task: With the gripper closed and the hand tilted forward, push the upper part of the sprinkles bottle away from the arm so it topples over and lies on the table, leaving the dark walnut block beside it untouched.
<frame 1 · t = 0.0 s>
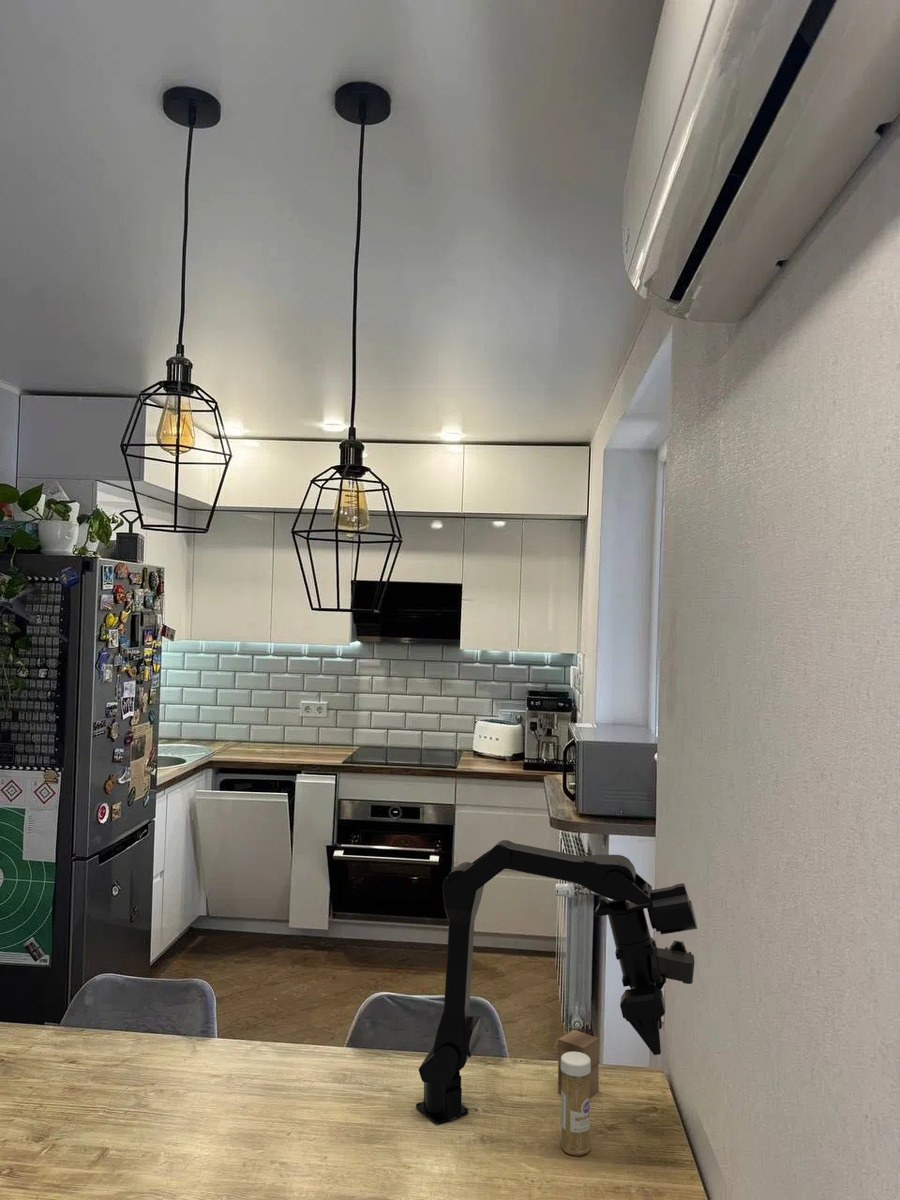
hand: (658, 1041, 131), 15 cm above the table, tool pointing down, fingers open, 9 cm apart
walnut block: (578, 1092, 145), on the table
sprinkles bottle: (575, 1149, 129), on the table
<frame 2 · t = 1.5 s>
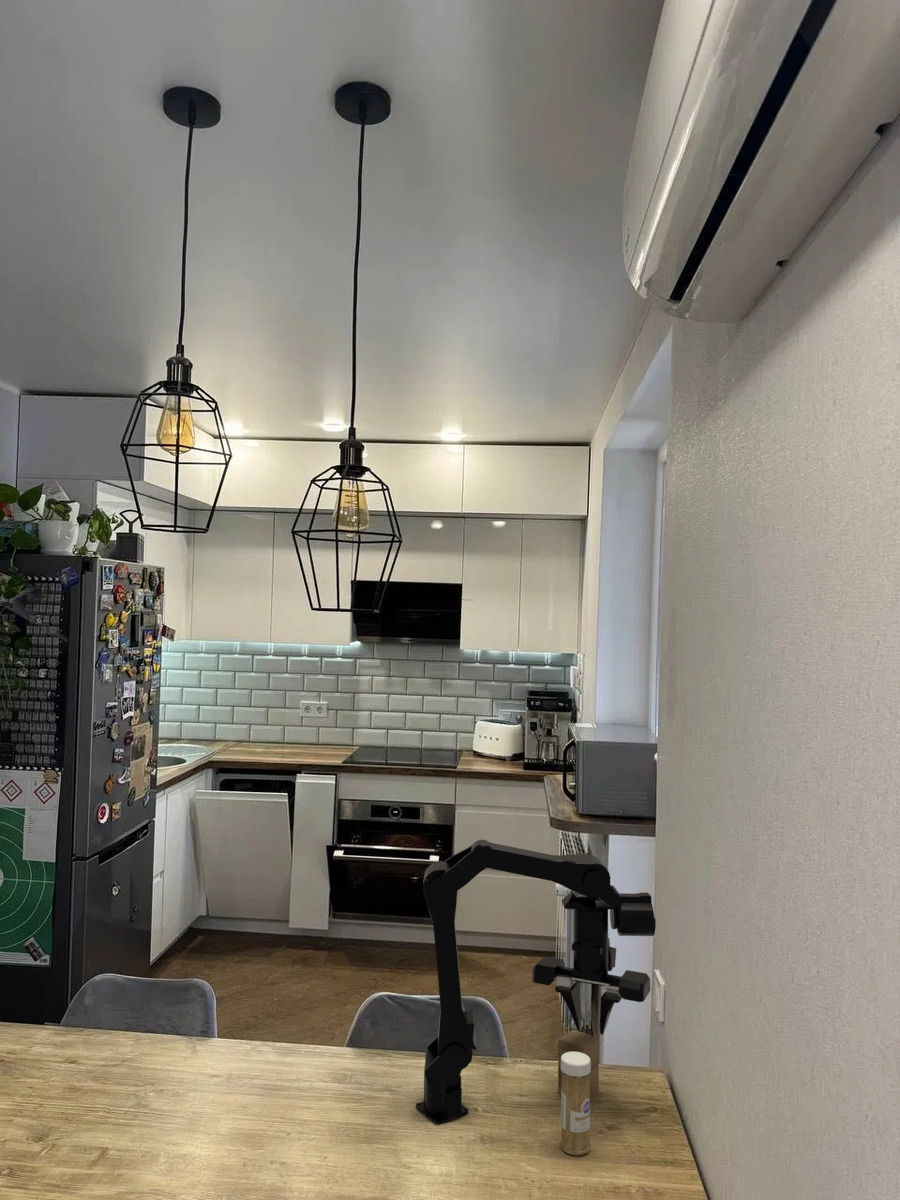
hand: (590, 1031, 140), 13 cm above the table, tool pointing down, fingers open, 4 cm apart
nothing on the table moved.
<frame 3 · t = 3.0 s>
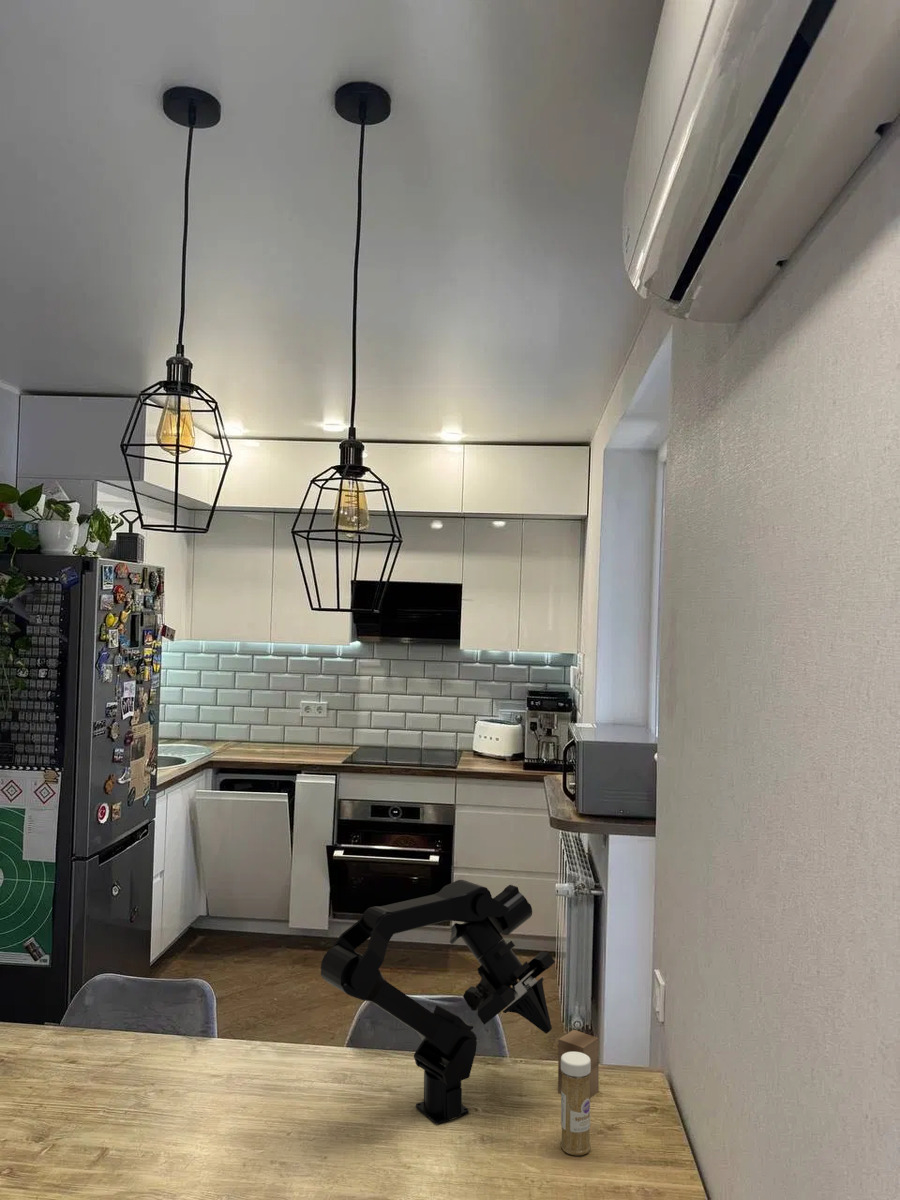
hand: (549, 1031, 139), 13 cm above the table, tool tilted 45°, fingers closed
nothing on the table moved.
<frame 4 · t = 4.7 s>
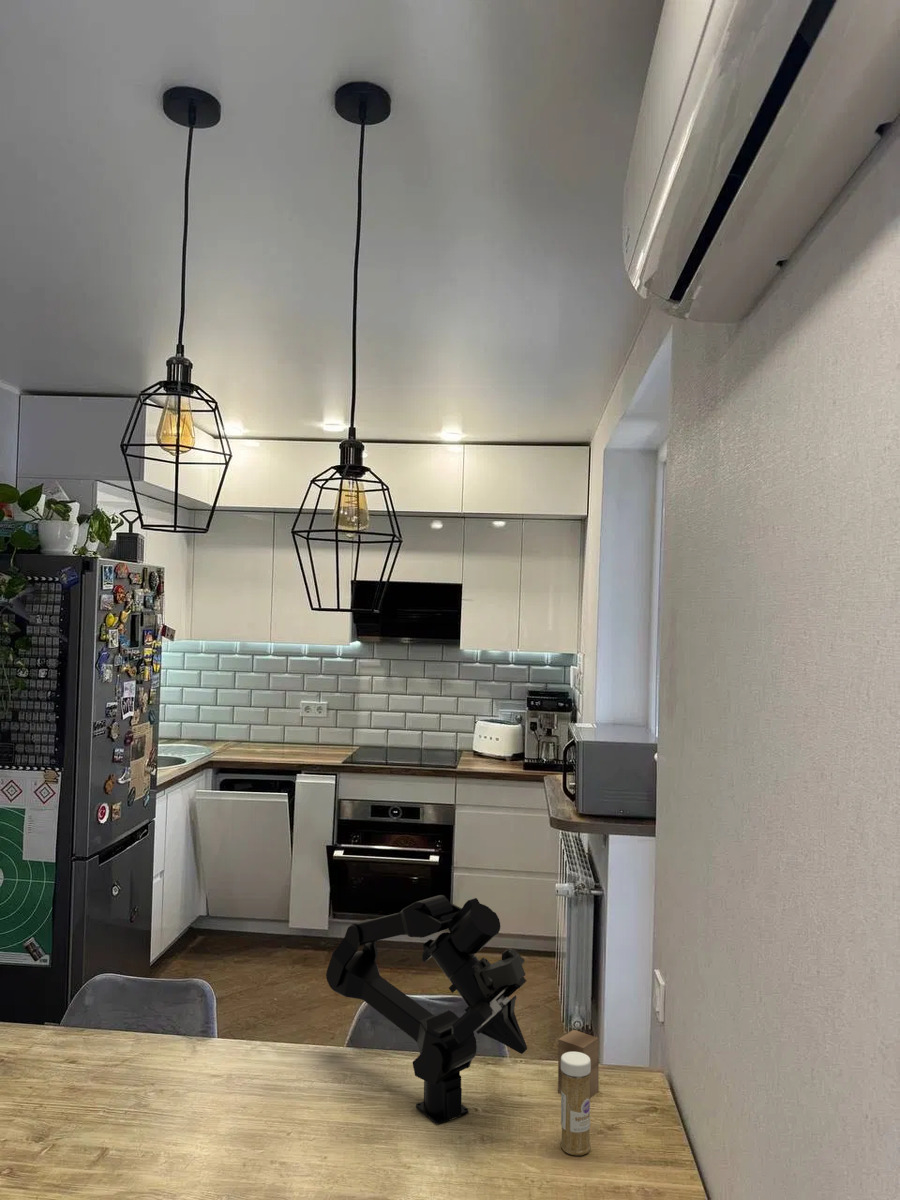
hand: (524, 1051, 133), 13 cm above the table, tool tilted 45°, fingers closed
nothing on the table moved.
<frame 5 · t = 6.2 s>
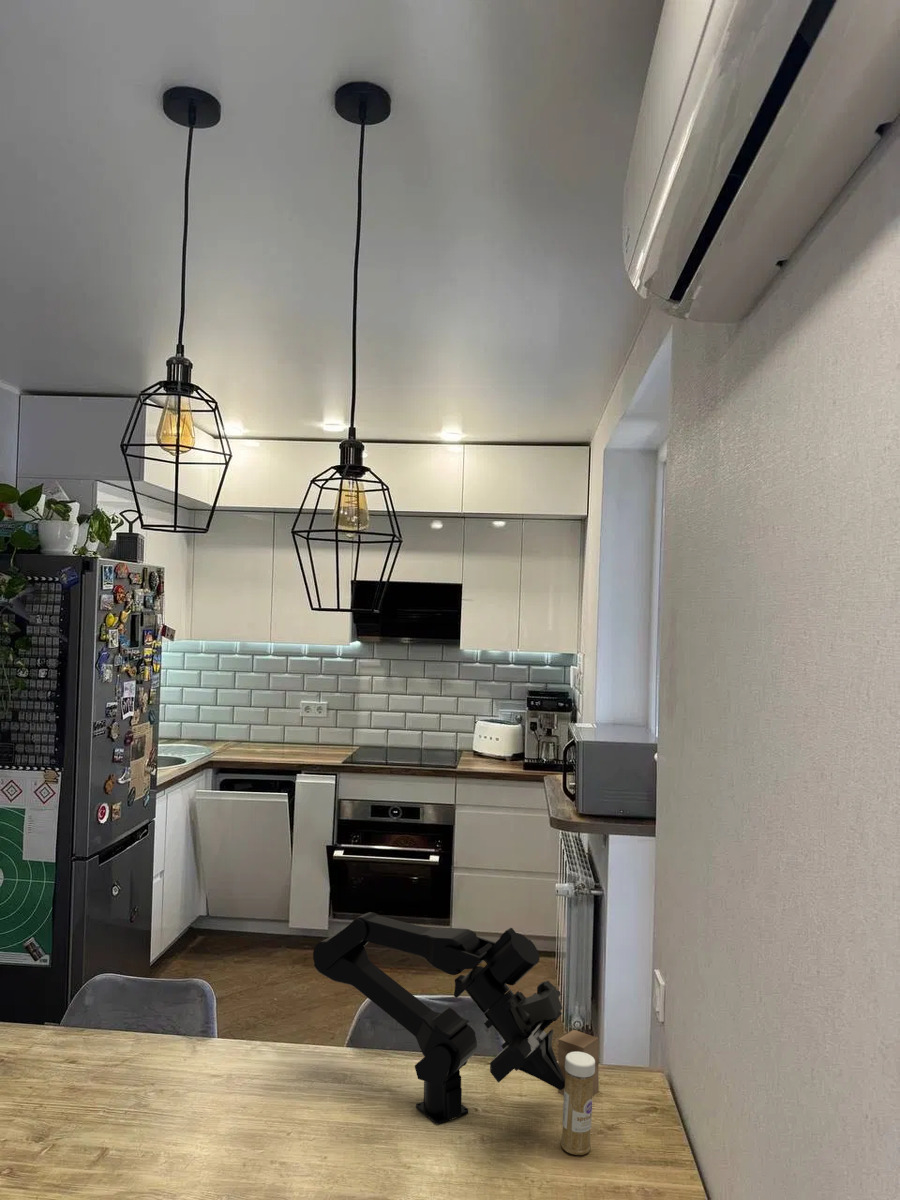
hand: (564, 1087, 130), 8 cm above the table, tool tilted 45°, fingers closed, pressing on sprinkles bottle
sprinkles bottle: (575, 1148, 129), on the table, touching gripper
everything else where it was.
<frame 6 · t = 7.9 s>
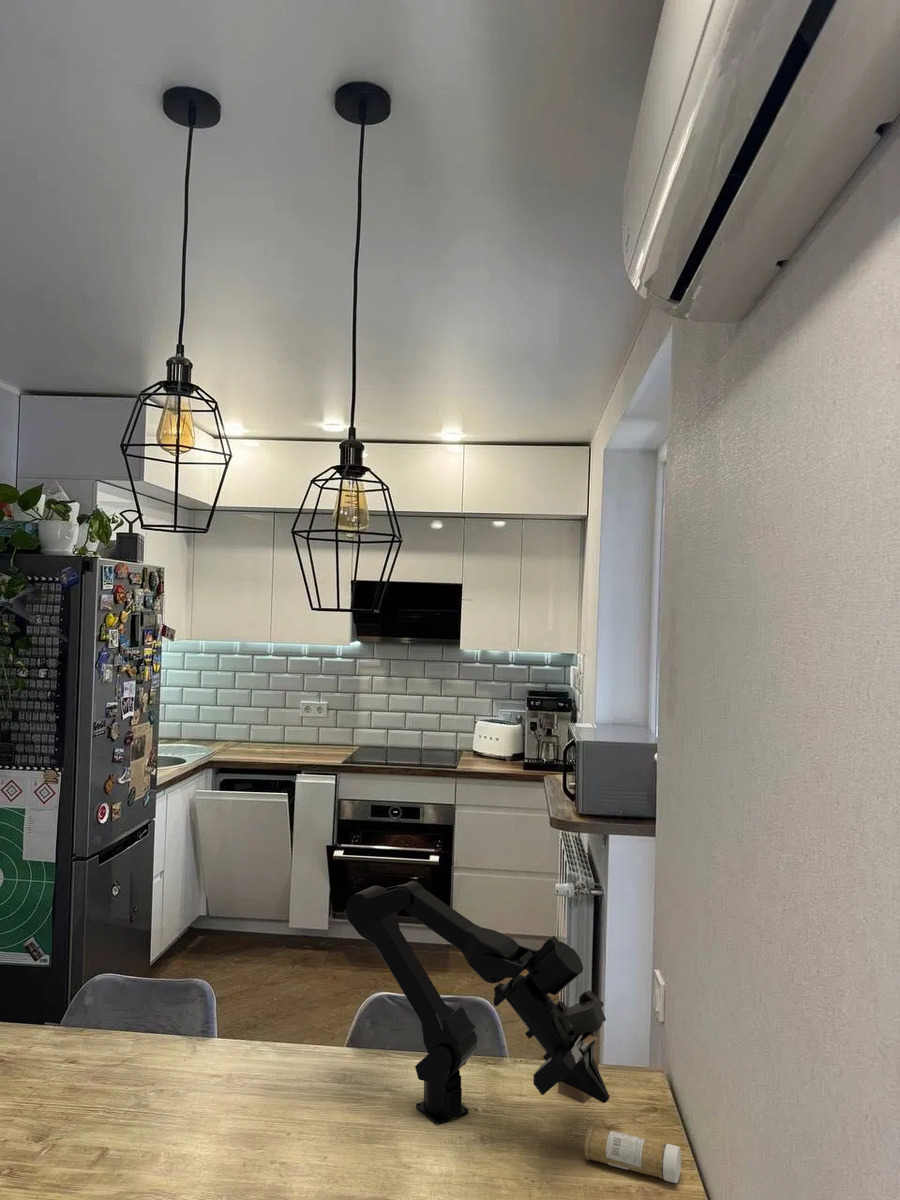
hand: (607, 1100, 127), 8 cm above the table, tool tilted 45°, fingers closed
sprinkles bottle: (586, 1141, 127), point 2 cm above the table
everything else where it was.
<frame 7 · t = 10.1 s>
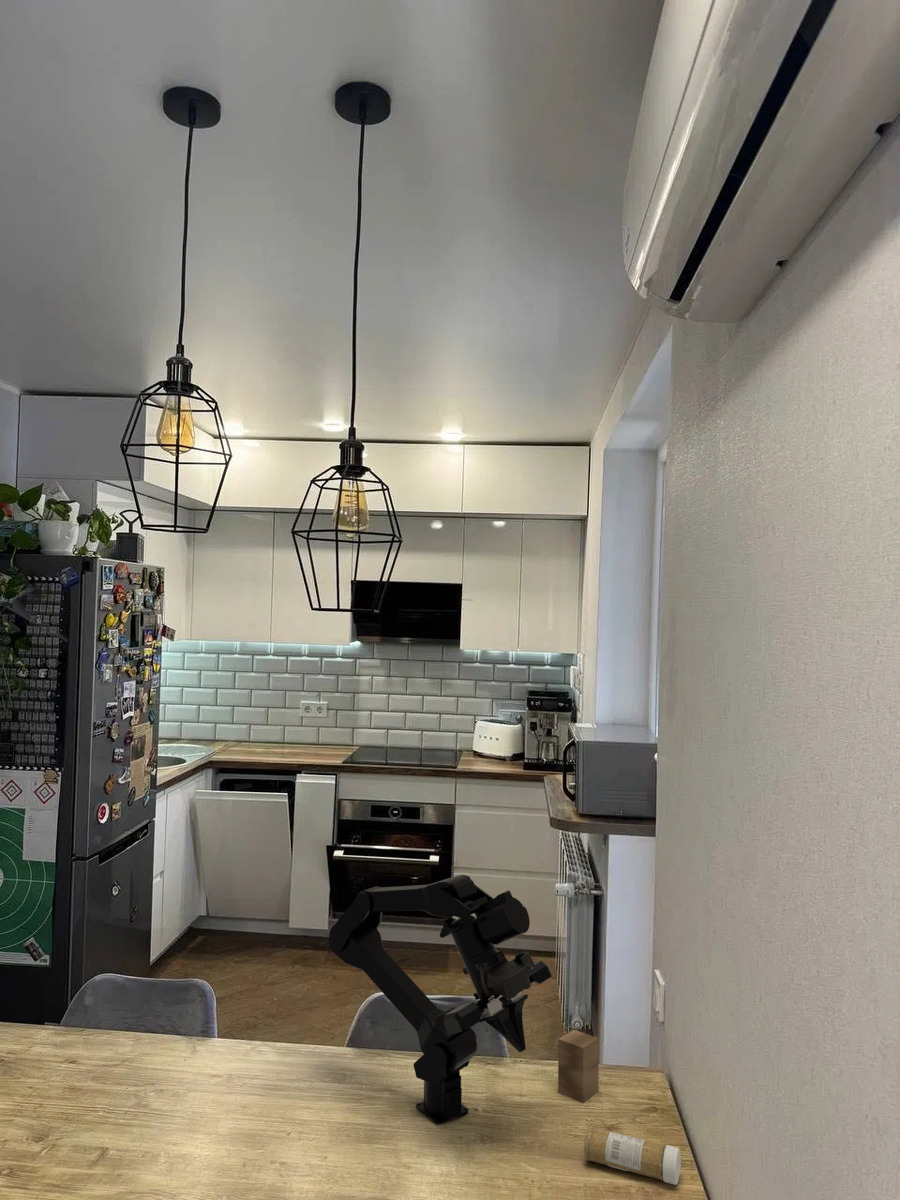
hand: (522, 1050, 132), 13 cm above the table, tool tilted 30°, fingers closed
nothing on the table moved.
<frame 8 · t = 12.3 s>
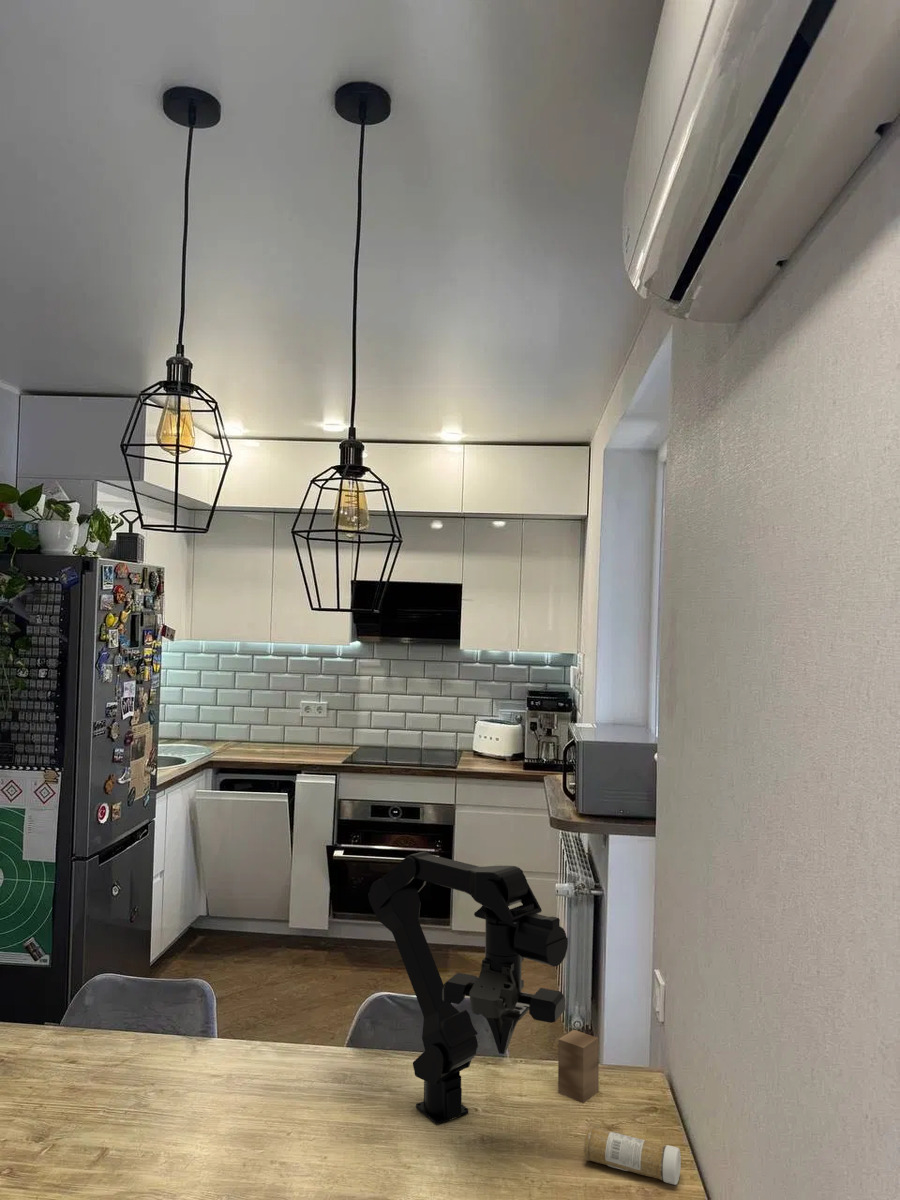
hand: (502, 1052, 132), 13 cm above the table, tool pointing down, fingers closed
nothing on the table moved.
at the end: sprinkles bottle tilted 90°; sprinkles bottle moved 3.6 cm from its start; walnut block moved 0.1 cm from its start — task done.
